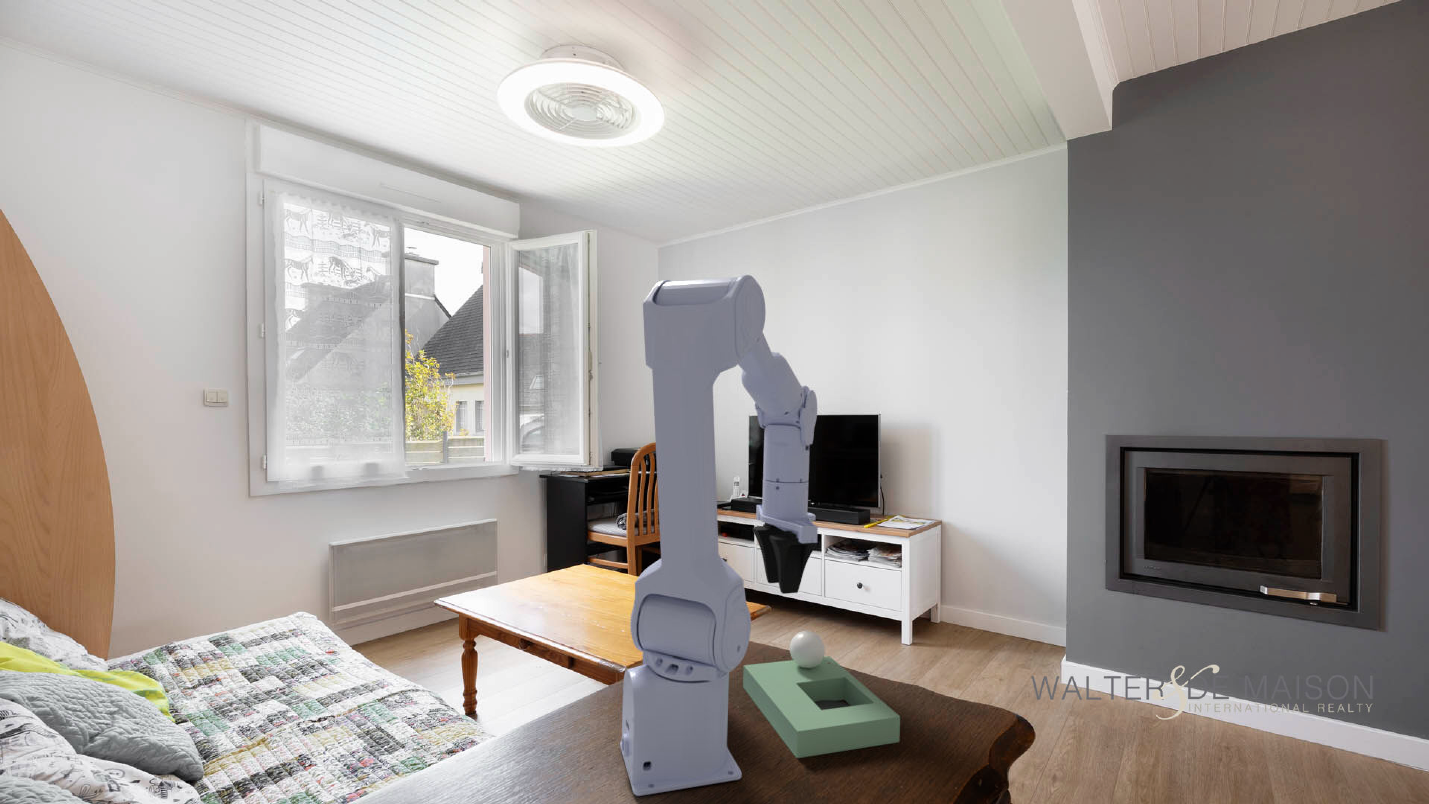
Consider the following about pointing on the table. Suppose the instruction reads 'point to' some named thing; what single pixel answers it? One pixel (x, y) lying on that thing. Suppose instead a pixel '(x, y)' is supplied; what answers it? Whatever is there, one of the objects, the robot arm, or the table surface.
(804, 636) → the ball
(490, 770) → the table surface
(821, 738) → the green
